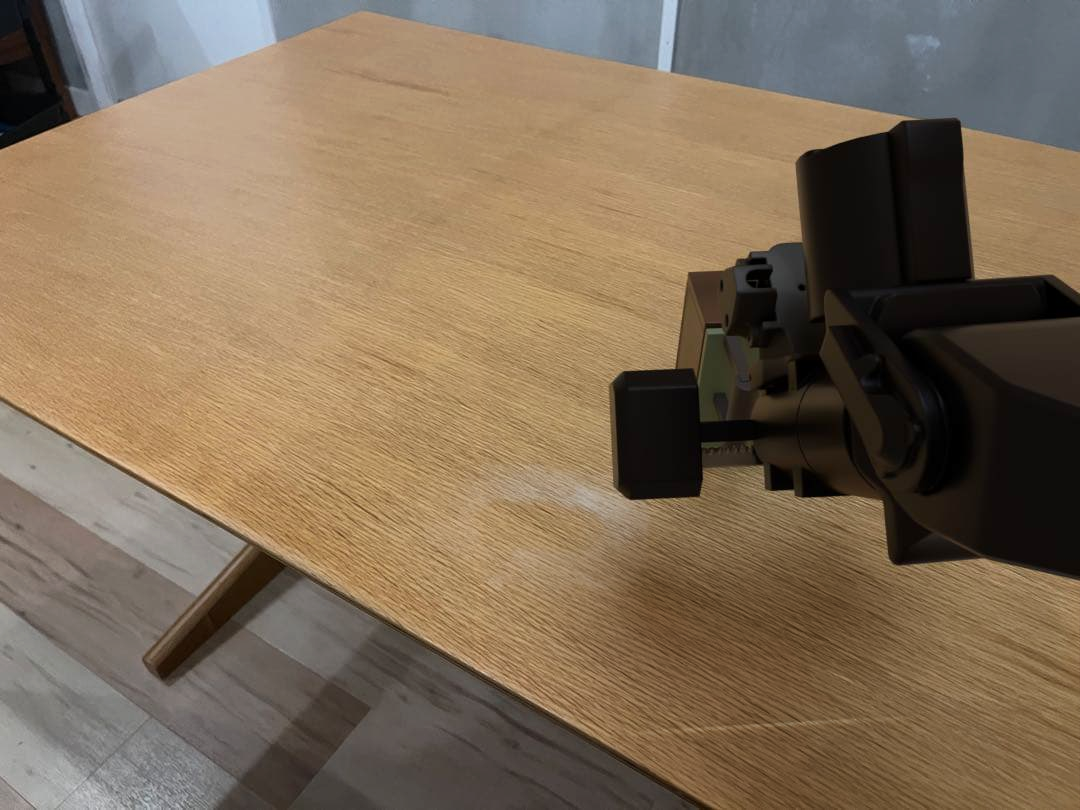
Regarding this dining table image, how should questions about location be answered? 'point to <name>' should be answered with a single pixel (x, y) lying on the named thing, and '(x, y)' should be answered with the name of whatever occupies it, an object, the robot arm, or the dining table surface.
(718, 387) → the door
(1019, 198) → the dining table surface
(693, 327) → the cabinet
